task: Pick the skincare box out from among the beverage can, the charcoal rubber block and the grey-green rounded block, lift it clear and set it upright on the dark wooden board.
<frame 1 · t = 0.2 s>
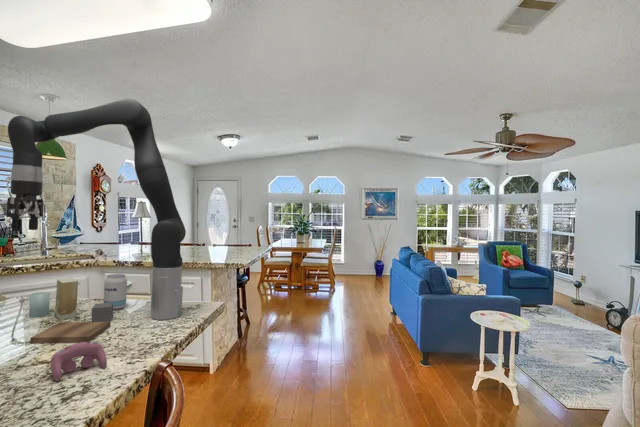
hand: (25, 230, 103), 28 cm above the countertop, tool pointing down, fingers open, 8 cm apart
video game controller: (78, 371, 71), on the countertop
beverage can: (114, 309, 116), on the countertop
grey-green rounded block: (39, 315, 106), on the countertop
rubber block: (102, 320, 103), on the countertop
skincare box: (65, 317, 105), on the countertop
wooden board: (73, 334, 91), on the countertop
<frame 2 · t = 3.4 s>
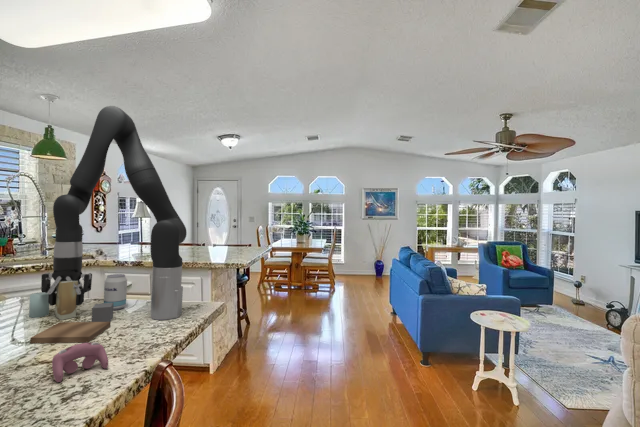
hand: (66, 304, 105), 4 cm above the countertop, tool pointing down, fingers closed on skincare box, 7 cm apart
skincare box: (65, 317, 105), on the countertop, touching gripper
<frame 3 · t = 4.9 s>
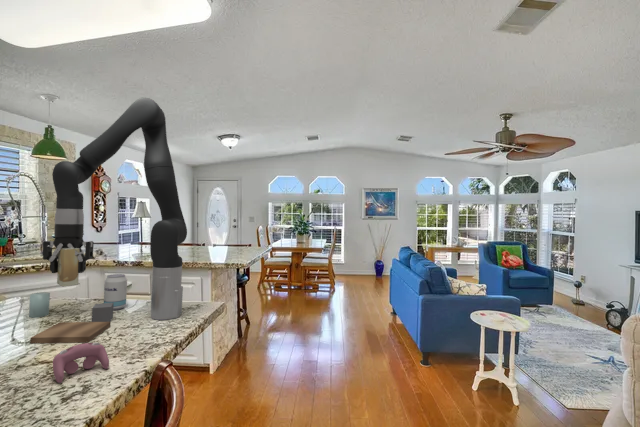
hand: (67, 272, 105), 15 cm above the countertop, tool pointing down, fingers closed on skincare box, 7 cm apart
skincare box: (67, 285, 105), point 10 cm above the countertop, touching gripper
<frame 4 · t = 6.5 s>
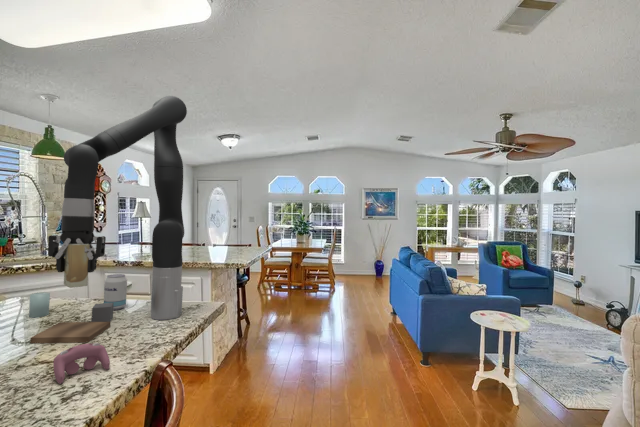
hand: (76, 271, 92), 18 cm above the countertop, tool pointing down, fingers closed on skincare box, 7 cm apart
skincare box: (75, 286, 92), point 14 cm above the countertop, touching gripper
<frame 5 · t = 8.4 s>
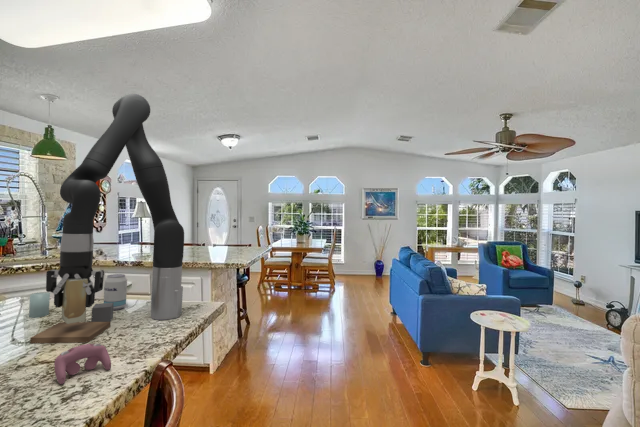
hand: (74, 306, 91), 8 cm above the countertop, tool pointing down, fingers closed on skincare box, 7 cm apart
skincare box: (73, 320, 91), point 4 cm above the countertop, touching gripper
when the fingers open (6 cm above the countertop, at t = 9.8 s): skincare box stays where it is, resting on wooden board.
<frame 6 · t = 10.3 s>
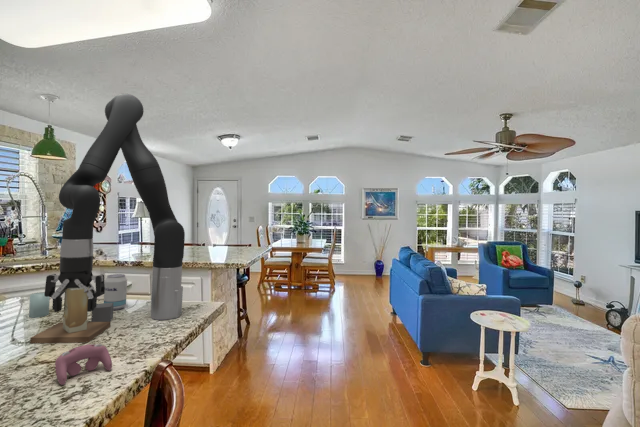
hand: (74, 311, 91), 7 cm above the countertop, tool pointing down, fingers open, 8 cm apart
skincare box: (74, 329, 91), point 1 cm above the countertop, touching wooden board
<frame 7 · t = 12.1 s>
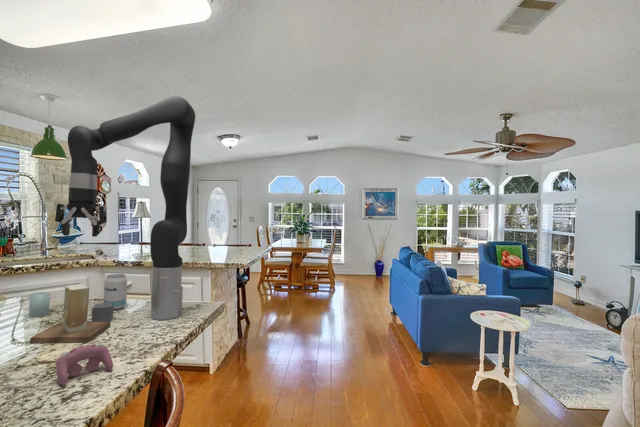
hand: (80, 235, 107), 27 cm above the countertop, tool pointing down, fingers open, 8 cm apart
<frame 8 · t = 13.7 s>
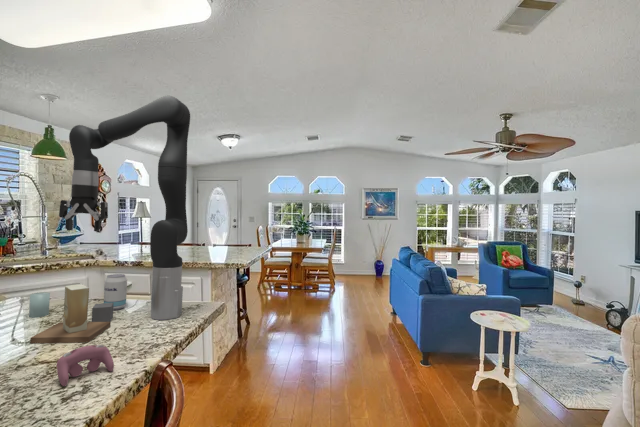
hand: (83, 230, 111), 28 cm above the countertop, tool pointing down, fingers open, 8 cm apart
at the end: skincare box inside the target area on the wooden board (0.3 cm from its centre), point 1.3 cm above the wooden board's base; skincare box tilted 0°; the gripper is holding nothing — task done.
